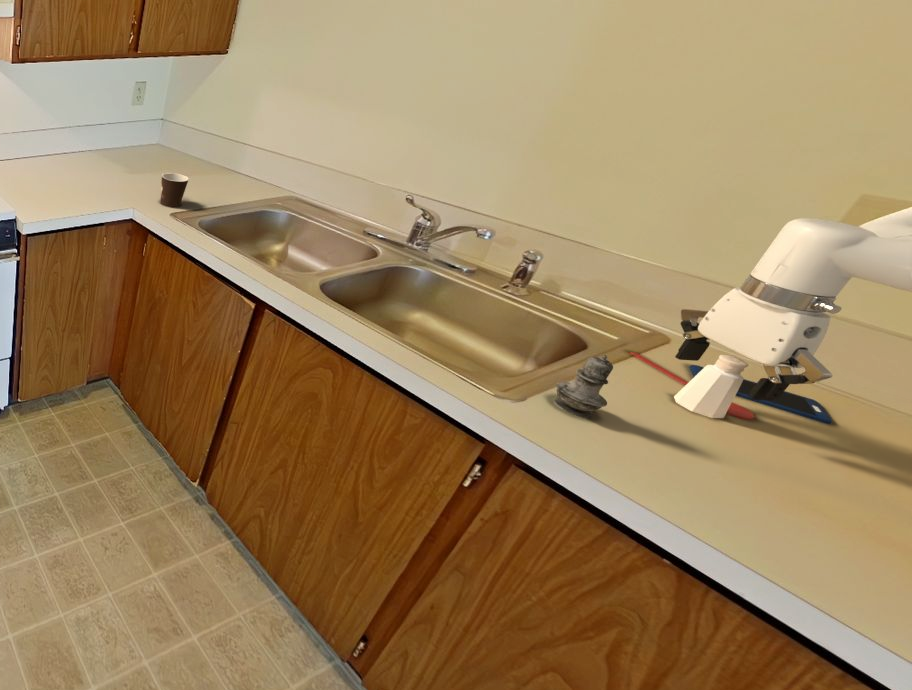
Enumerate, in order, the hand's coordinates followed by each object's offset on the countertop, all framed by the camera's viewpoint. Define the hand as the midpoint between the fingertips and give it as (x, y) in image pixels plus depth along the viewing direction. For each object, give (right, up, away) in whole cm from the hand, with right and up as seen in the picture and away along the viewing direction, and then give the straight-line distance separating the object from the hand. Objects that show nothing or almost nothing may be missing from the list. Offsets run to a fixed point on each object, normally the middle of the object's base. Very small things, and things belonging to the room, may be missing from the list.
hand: (721, 377), depth 87 cm
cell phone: (+15, -5, +6) cm, 17 cm away
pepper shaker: (0, -7, +3) cm, 7 cm away
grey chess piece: (-23, -7, +3) cm, 24 cm away
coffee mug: (-56, +31, +91) cm, 111 cm away
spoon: (+6, -4, +8) cm, 11 cm away
